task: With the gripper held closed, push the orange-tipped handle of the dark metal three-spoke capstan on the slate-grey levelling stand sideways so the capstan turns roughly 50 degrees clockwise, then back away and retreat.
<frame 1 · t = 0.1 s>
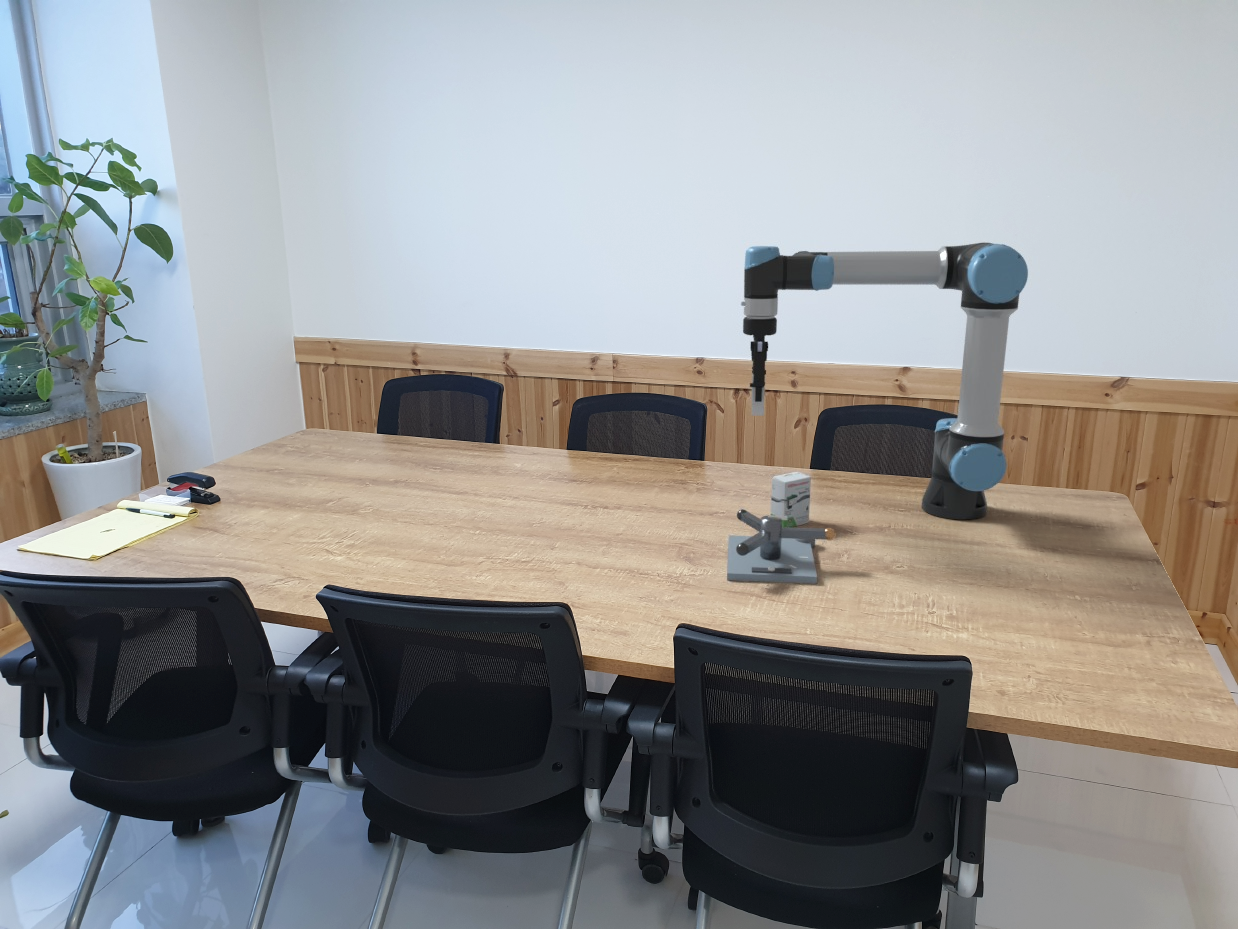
hand: (757, 408, 211), 28 cm above the table, fingers open, 13 cm apart
capstan: (785, 536, 192), point 6 cm above the table, hinge at 0.0°
stand: (770, 561, 195), on the table
ink box: (789, 524, 218), on the table
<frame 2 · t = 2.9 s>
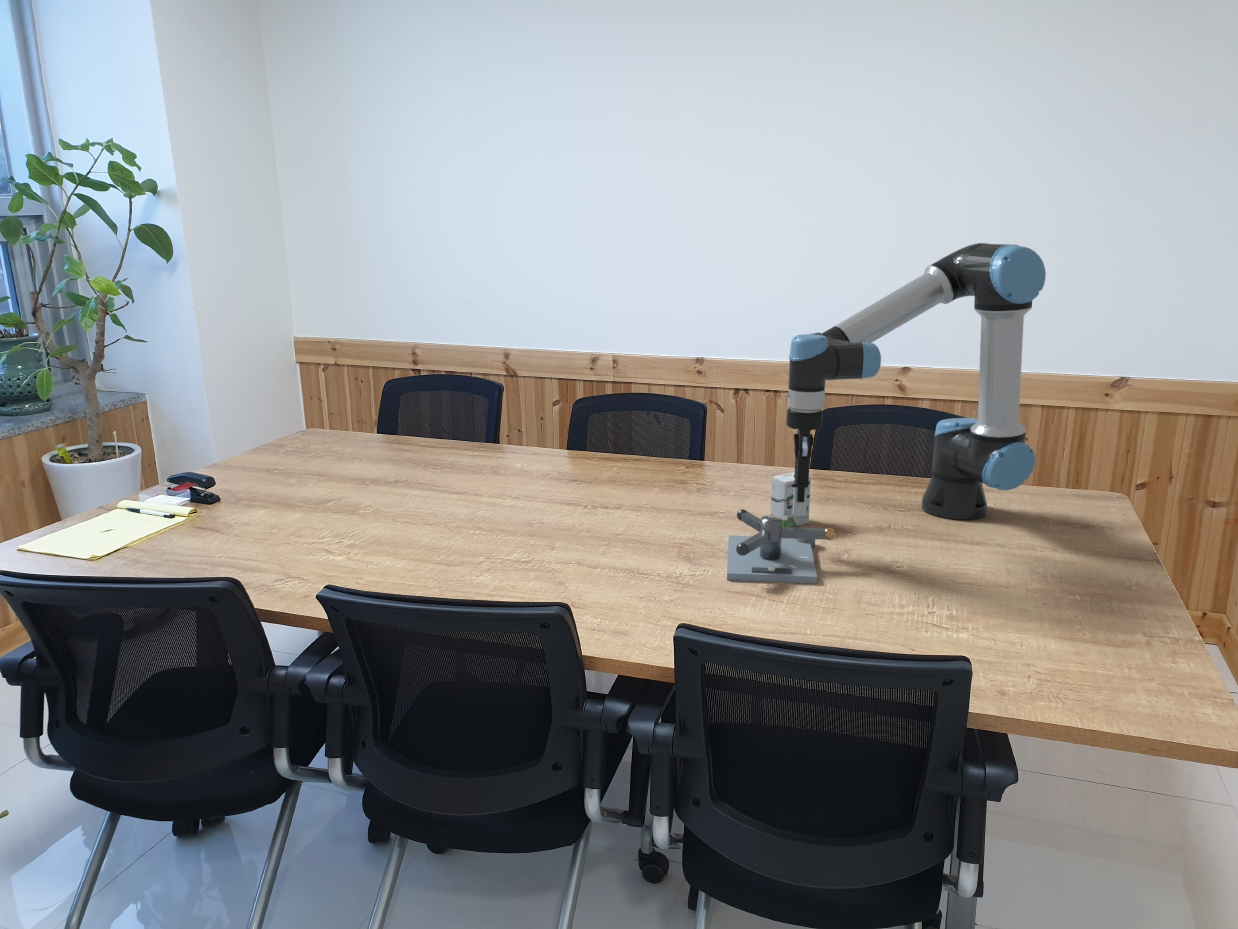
hand: (799, 514, 198), 8 cm above the table, fingers closed
nothing on the table moved.
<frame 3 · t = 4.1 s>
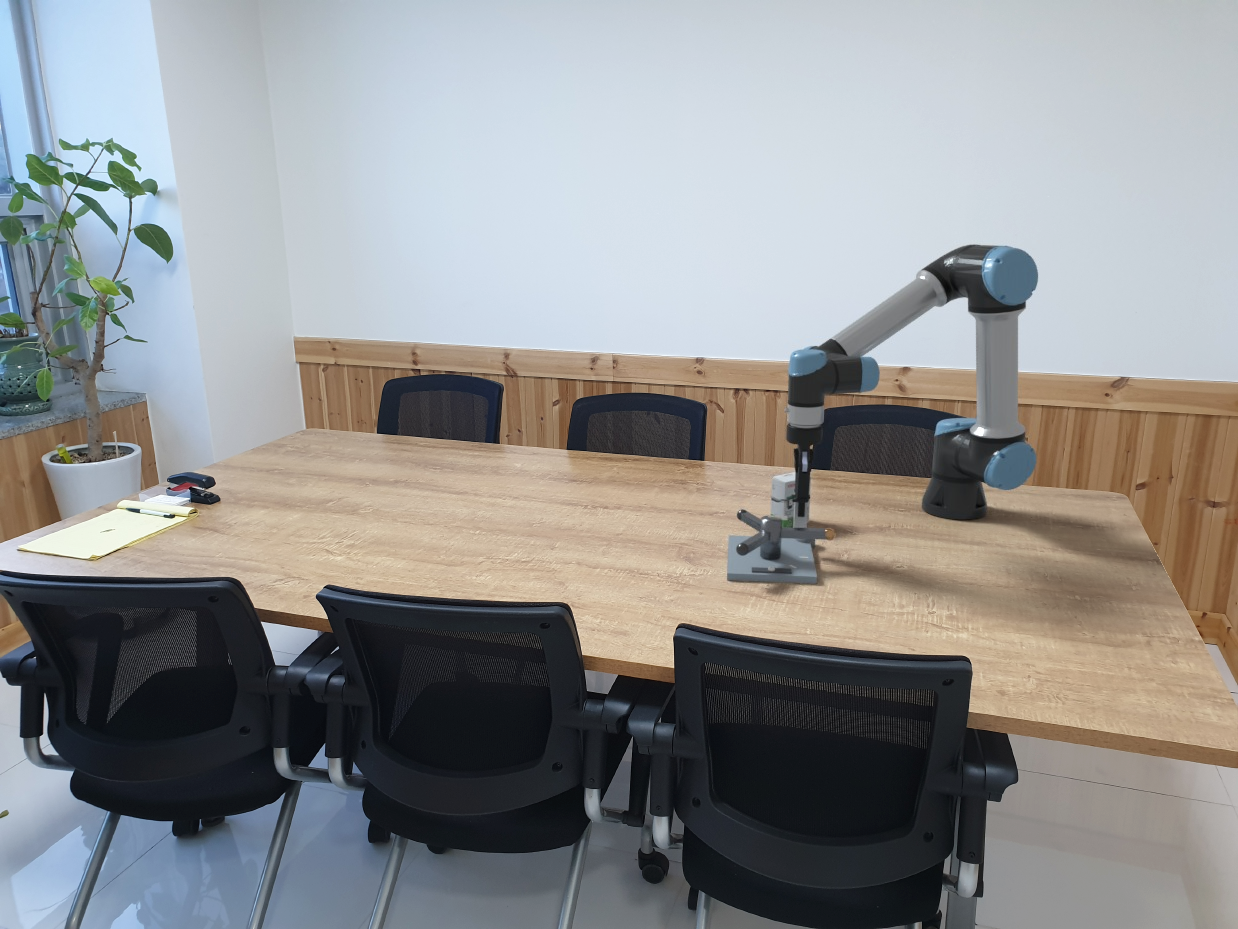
hand: (799, 528, 198), 5 cm above the table, fingers closed
nothing on the table moved.
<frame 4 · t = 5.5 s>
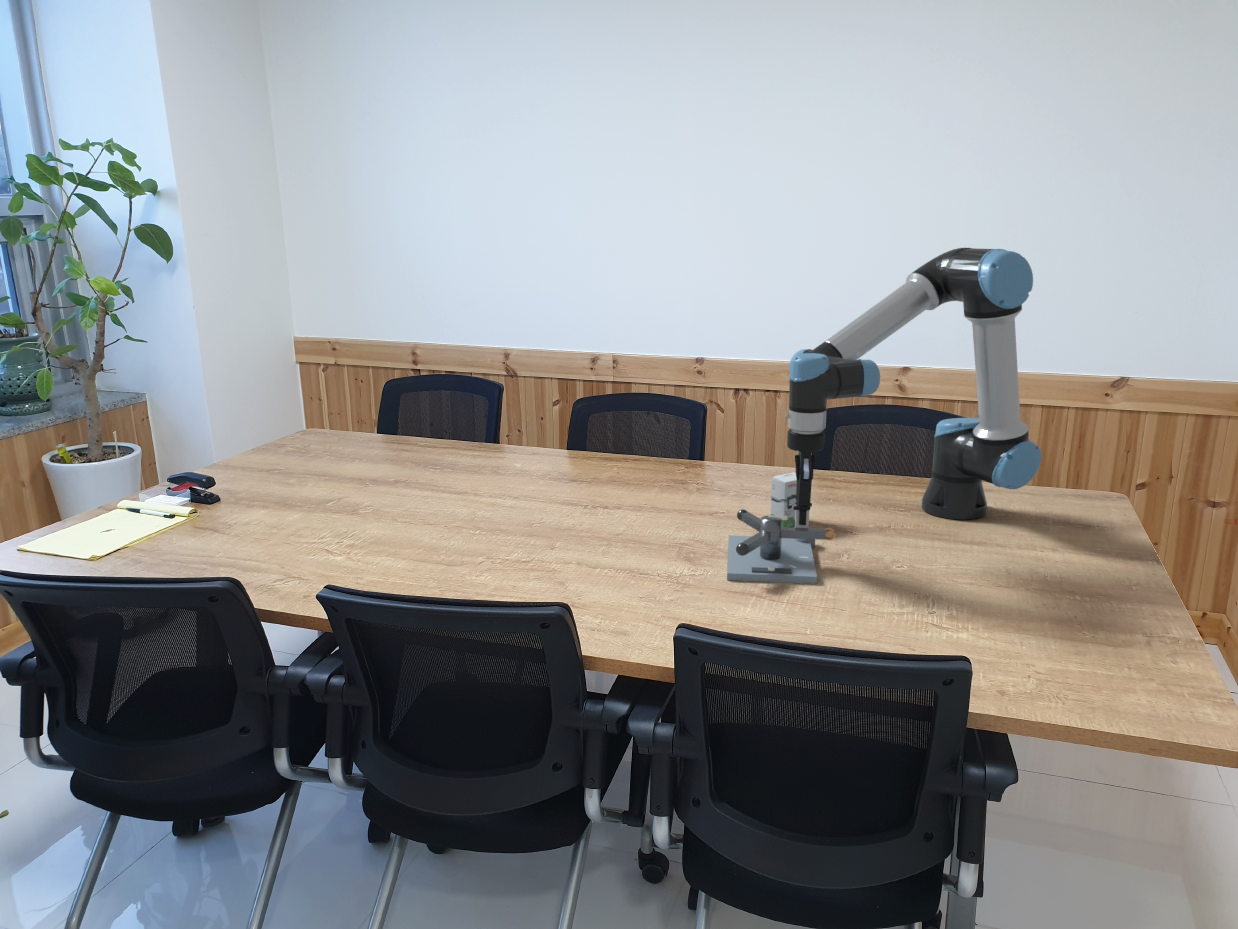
hand: (801, 537, 193), 6 cm above the table, fingers closed
capstan: (785, 536, 192), point 6 cm above the table, hinge at 0.2°, touching gripper
everything else where it was.
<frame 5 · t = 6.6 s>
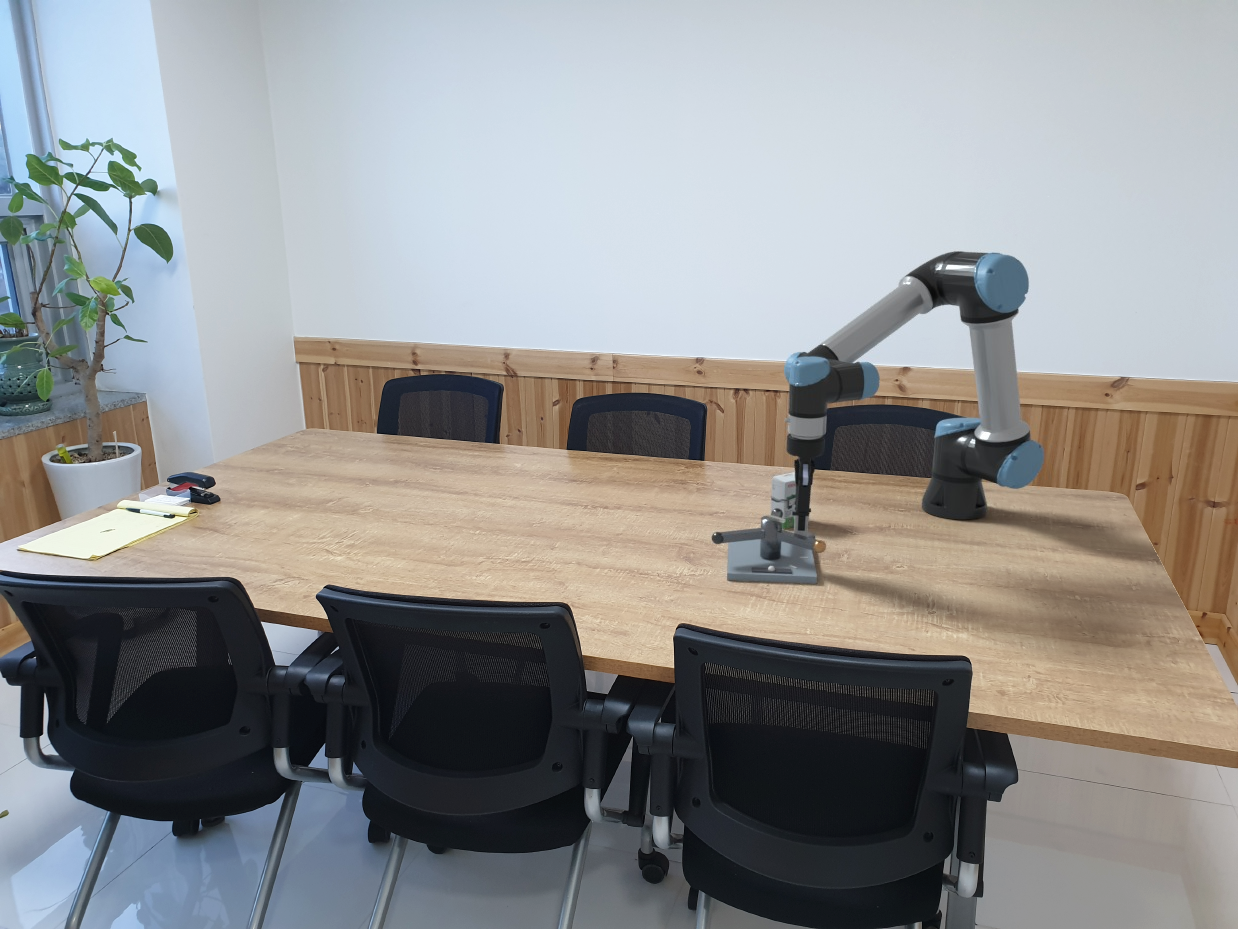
hand: (800, 542, 190), 5 cm above the table, fingers closed
capstan: (782, 539, 190), point 6 cm above the table, hinge at 38.0°, touching gripper
everything else where it was.
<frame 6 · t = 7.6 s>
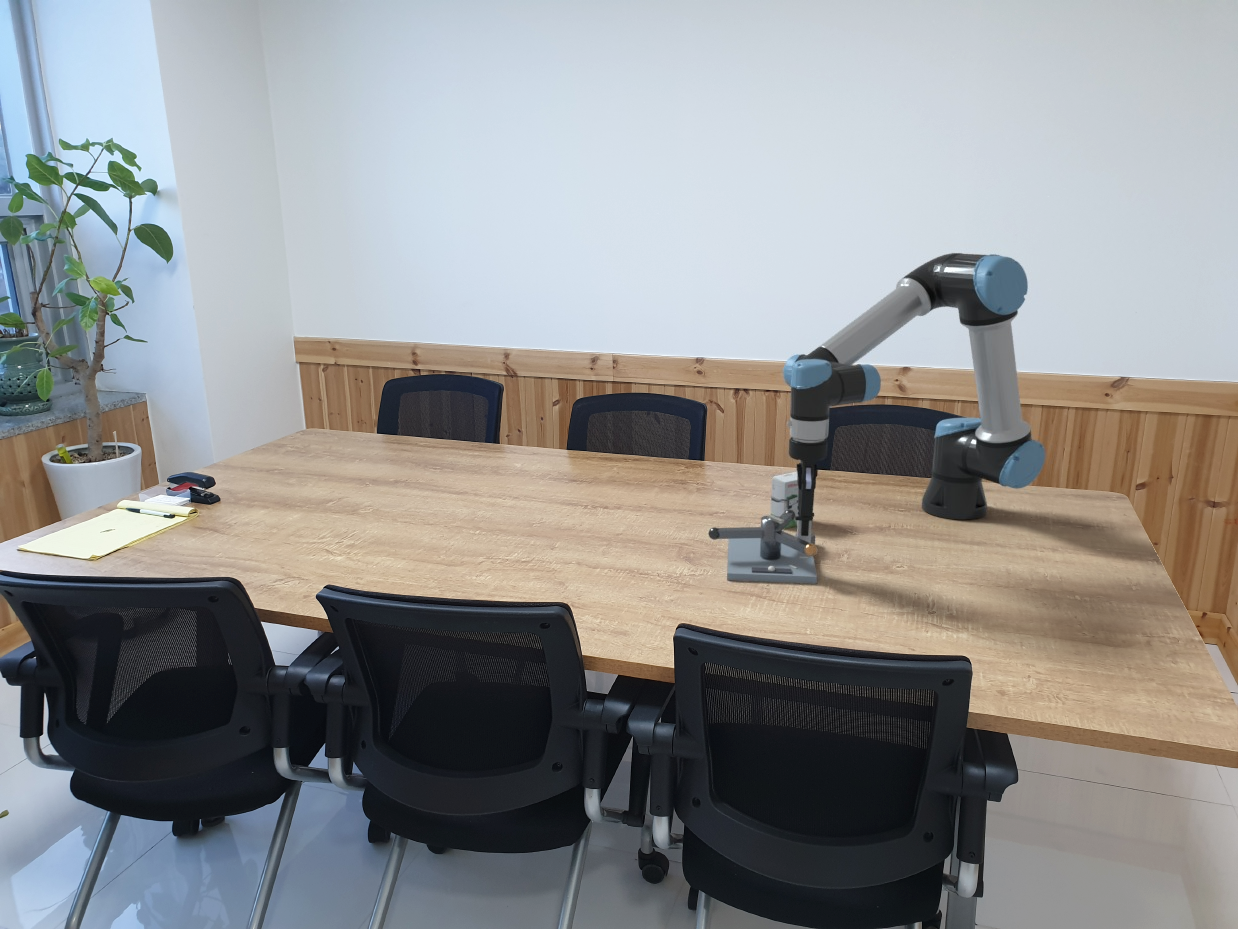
hand: (803, 548, 188), 5 cm above the table, fingers closed
capstan: (780, 540, 190), point 6 cm above the table, hinge at 51.1°, touching gripper
everything else where it was.
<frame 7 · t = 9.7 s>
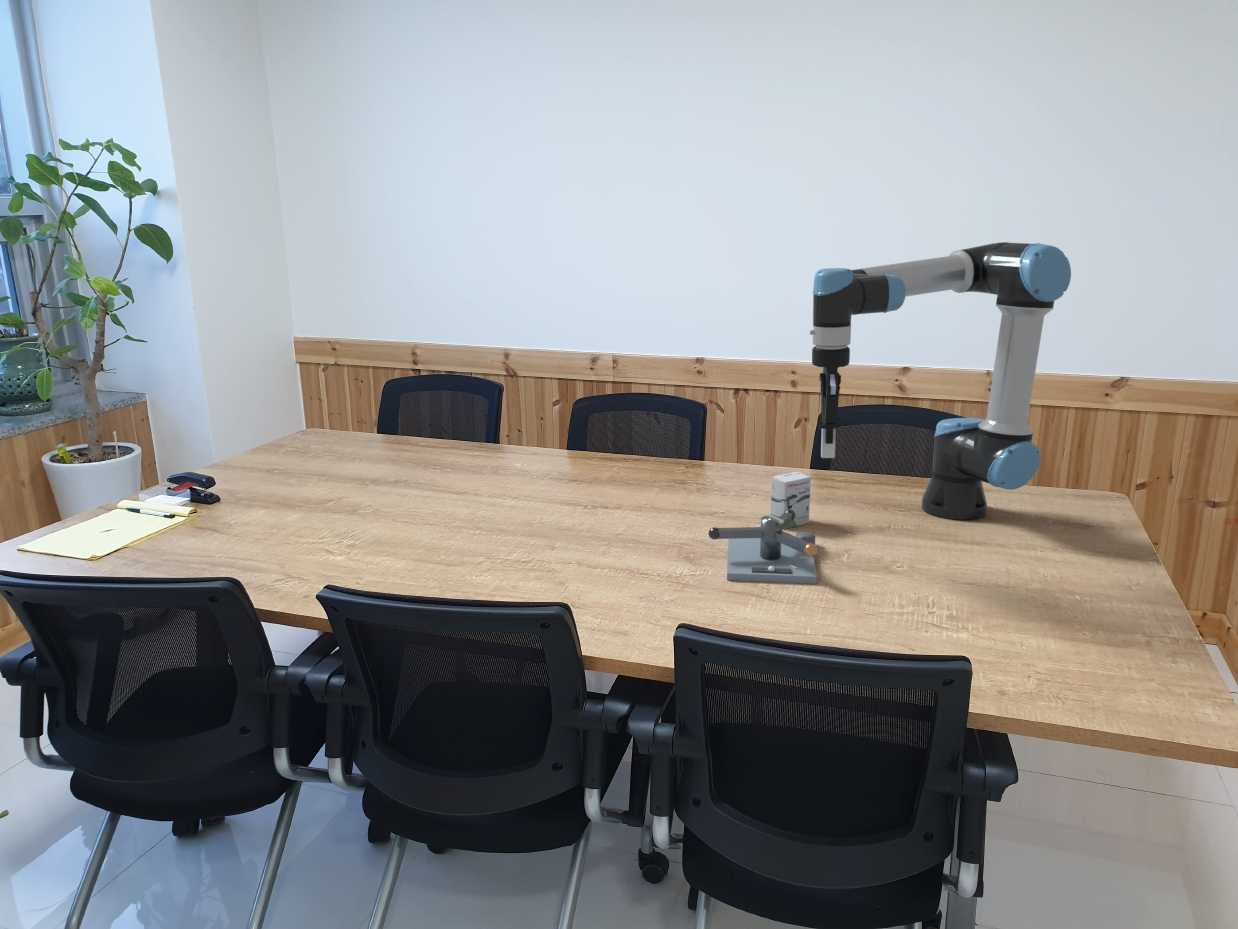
hand: (827, 456, 192), 22 cm above the table, fingers closed
capstan: (780, 540, 190), point 6 cm above the table, hinge at 51.2°
everything else where it was.
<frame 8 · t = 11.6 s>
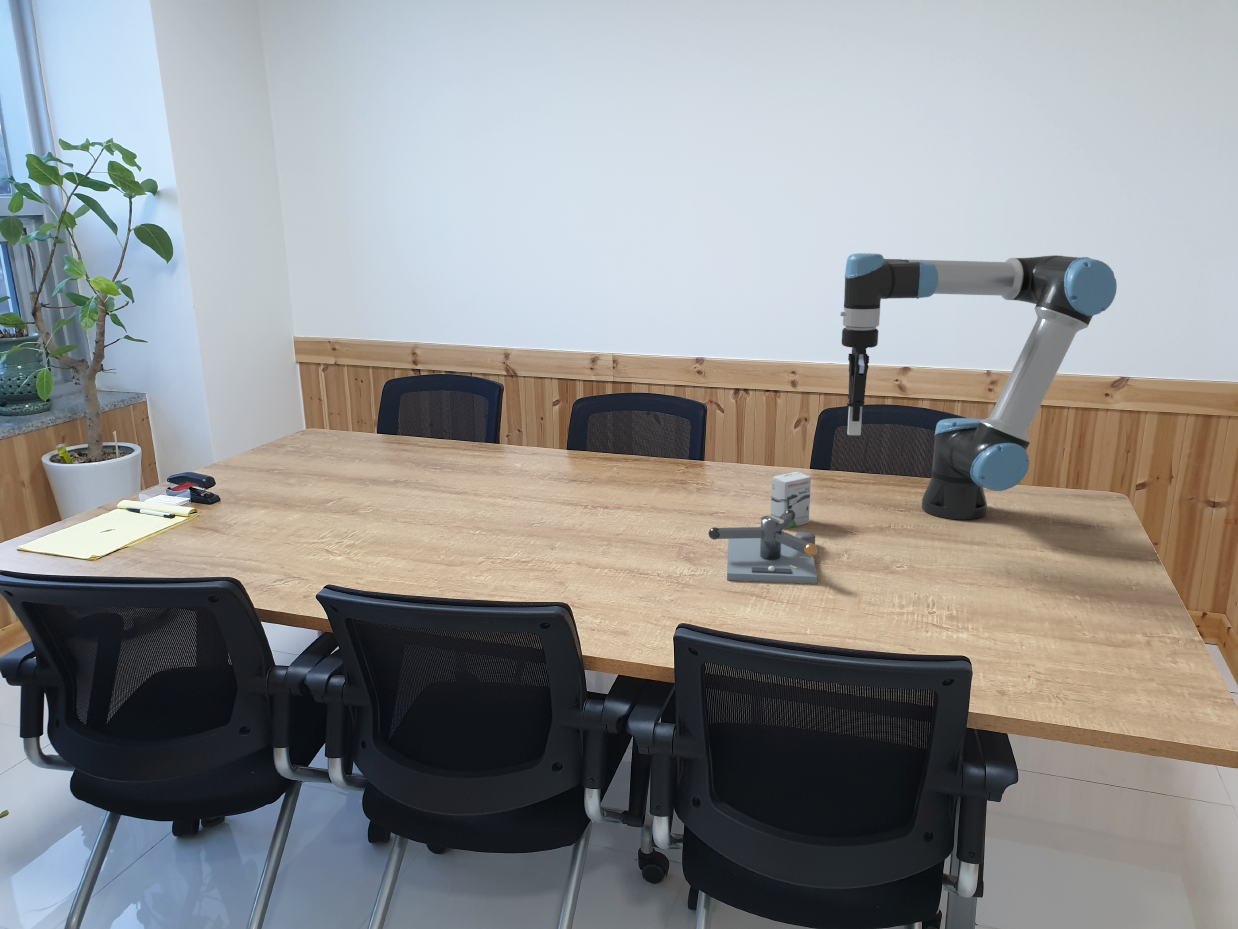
hand: (853, 434, 201), 24 cm above the table, fingers closed
nothing on the table moved.
at the end: capstan at +51° (first picture: +0°) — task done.
